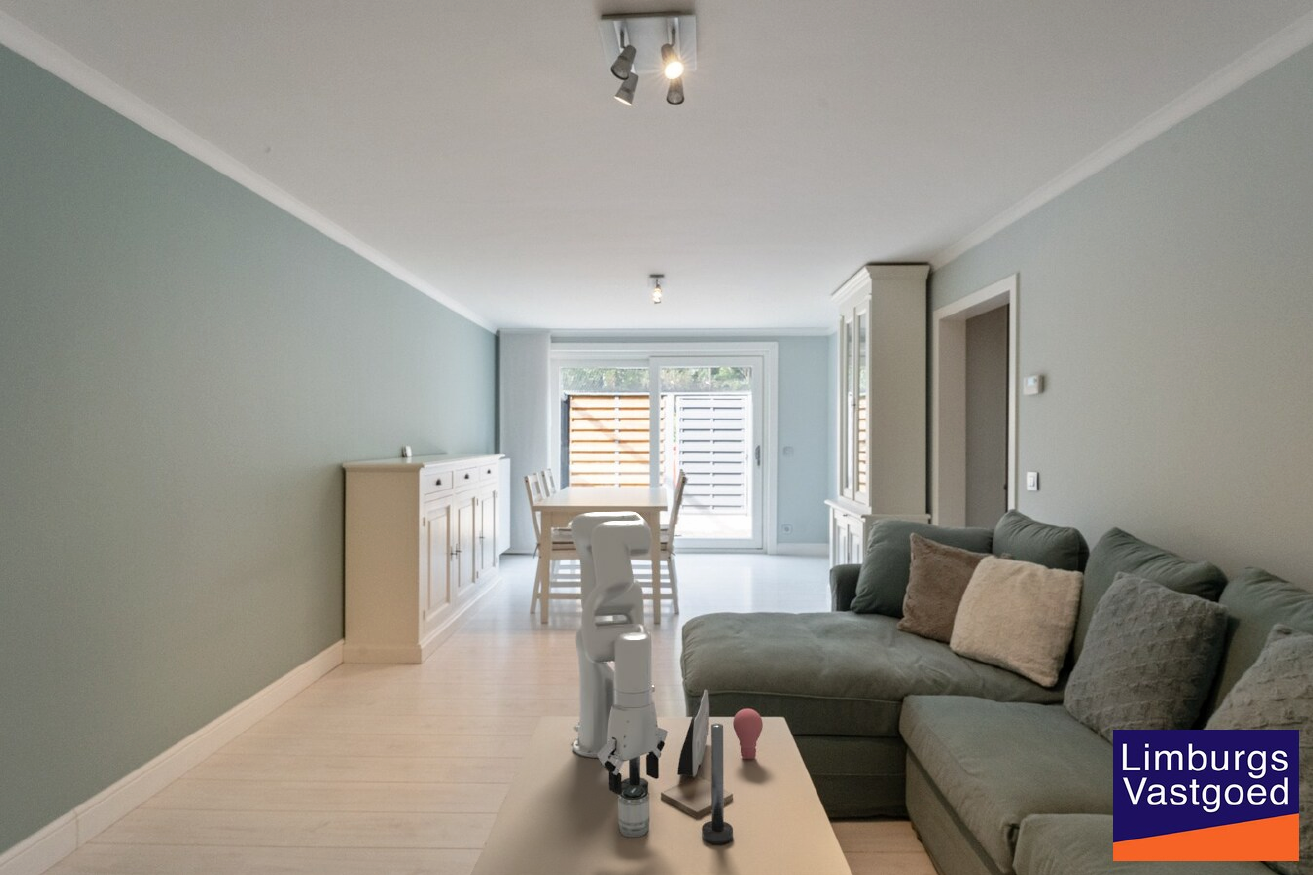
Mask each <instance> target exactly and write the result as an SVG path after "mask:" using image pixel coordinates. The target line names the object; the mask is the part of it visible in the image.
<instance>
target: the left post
mask: <svg viewBox="0 0 1313 875" xmlns="http://www.w3.org/2000/svg"><path fill="white" fill-rule="evenodd" d="M628 773H629V774H628V777H627V778H625V779H623V780H622V789H623V788H625V787H627V786H641V787H643V788H645V789H646V790H647V791H648V792H649V782H648V780H647V779H645V778H643V777H641V756H639V757H636V758H634V759H631V760H628Z"/></svg>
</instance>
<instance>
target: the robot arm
mask: <svg viewBox="0 0 1313 875" xmlns="http://www.w3.org/2000/svg"><path fill="white" fill-rule="evenodd" d="M570 529H571V538H572V543H573V545H574V548H575V551H576V553H577V556H578V561H579V566H580V569H579V571H580V576H579V577H580V604H581V609H582V611H581V618H580V620H581V622H580V623H581V626H579V627H578V628H577V630H576V633H575V648H576V654H577V661H578V678H579V681H578V682H579V684H578V686H579V688H578V691H579V692H578V693H579V697H578V698H579V700H578V702H579V704H578V706H579V707H578V709H579V712H578V713H579V715H578V716H579V719H578V720H579V721H578V723H577V725H576V724H575V725H574V726H573V731H574V732H577V738H576V739H575V740H574V742H573V745H572V746H573V748H572V749H573V751H574V752H575V753H576V754H577V755H579V756H582V757H586V758H594V759H595V758H597V759H598V760H599V762H600V764H601V766H602V767H603V768H604V769H605V770H606V771H608V790H609V791H610V792H612V793H614V794H615V795H617V796H618V795H620V794H621V793H622V781H623V780H622V776H623V775H622V772H620V771H621V769H622V766H623V765H624V763H625V762H627V761H628V762H629V760H631V759H634V758H636V757H639V756H640V757H641V756H643V755H646V756H645V774H646V776H649V777H651V778H653V779H655V780H657V779H659V776H660V773H659V772H660V771H659V770H660V767H659V766H660V765H659V762H660V761H659V760H660V758H661V756H662V751H663V749H664V747H665V744H666V743H665V741H666V739H667V736H668V731H667V730H666V729H663V728H660V727H659V726H658V718H657V717H658V716H657V710H656V705H655V701H654V700H653V693H655V690H656V688H655V686H654V685H653V657H652V656H653V653H652V652H653V647H652V646H653V645H652V635H651V632H650V631H649V629H648V628H647V627H646V626H645V618H644V616H645V613H644V610H645V609H644V607H645V606H644V594H643V593H644V592H643V588H642V586H641V583H640V581H639V580H637V579H636V578H635V576H634V572H633V571H634V570H633V565H632V560H631V558H637V557H647V556H648V555H650V554H651V552H652V549H653V547H654V546H653V545H654V544H653V543H654V541H653V535H652V530H651V527H650V525H649V524H648V522H647V521H646V520H645V519H644V518H643V517H642V516H641V515H640V514H639V513H637V512H634V511H611V512H610V511H609V512H608V511H607V512H605V511H603V512H600V511H599V512H587V513H581V514H578V515H576V516H575V517H574V518H573V519H572V522H571V528H570ZM614 616H615V617H616V616H623V617H624V618H625V619H621V620H605V621H604V620H602V621H595V620H596V618H595V617H597V618H599V617H600V618H601V617H603V618H604V617H614ZM612 663H613V664H614V666H613V667H614V669H613V667H611V666H610V664H612ZM609 757H610V758H609Z"/></svg>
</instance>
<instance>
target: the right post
mask: <svg viewBox="0 0 1313 875" xmlns="http://www.w3.org/2000/svg"><path fill="white" fill-rule="evenodd" d="M710 776H711V778H710V780H711V781H710V783H711V811H710V813H711V820H710V821H708V822H705V823H704V824H703V825H702V828H701V830H702V832H701V833H702V834H701V835H702V840H704V842H706V843H707V844H710V845H712V846H724V845H728V844H730V843H731V842H732V841H733V840H734V828H733V826H732V825H731V824H730V823H728V822H726V821H724V819H725V817H724V815H725V814H724V813H725V810H724V807H725V804H724V790H725V789H724V725H723V724H720V723H713V724H711V725H710Z"/></svg>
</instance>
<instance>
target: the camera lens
mask: <svg viewBox="0 0 1313 875" xmlns="http://www.w3.org/2000/svg"><path fill="white" fill-rule="evenodd" d="M617 823H618V828H619V832H620V834H621V835H622V836H624V837H626V838H639V837H642V836H645V835H646V833H648V831H649V829H650V793H649V790H648V791H647V790H646V789H645V788H643V787H641V786H627V787H625V788H623V789H622V793H621V794H620V795H617Z"/></svg>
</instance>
